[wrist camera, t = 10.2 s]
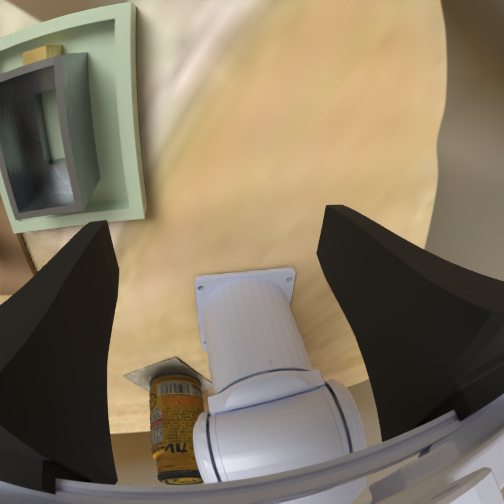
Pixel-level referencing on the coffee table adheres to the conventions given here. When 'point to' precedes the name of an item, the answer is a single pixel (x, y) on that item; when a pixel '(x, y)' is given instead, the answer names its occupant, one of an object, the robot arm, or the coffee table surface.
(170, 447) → the condiment
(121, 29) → the tray
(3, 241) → the tan rectangular block
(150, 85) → the coffee table surface
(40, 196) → the grey open box
